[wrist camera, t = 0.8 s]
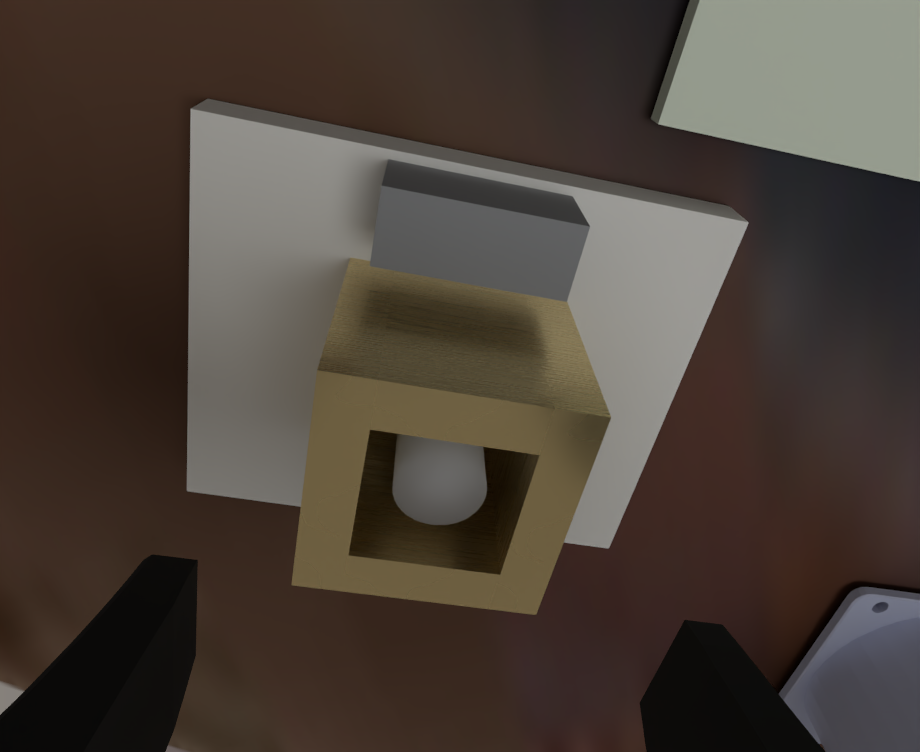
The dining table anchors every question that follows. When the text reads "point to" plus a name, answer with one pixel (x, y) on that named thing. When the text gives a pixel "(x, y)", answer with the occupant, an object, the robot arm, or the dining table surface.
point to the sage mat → (801, 79)
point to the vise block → (432, 255)
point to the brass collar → (446, 439)
